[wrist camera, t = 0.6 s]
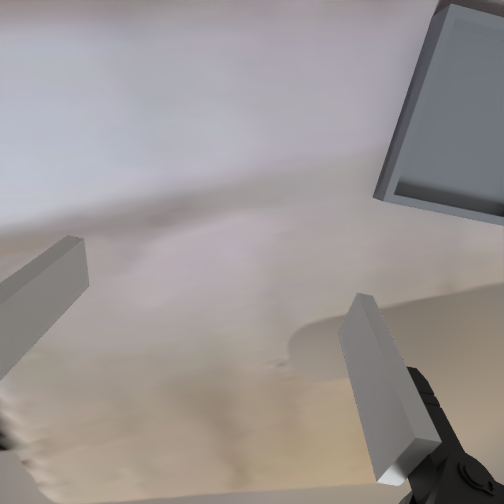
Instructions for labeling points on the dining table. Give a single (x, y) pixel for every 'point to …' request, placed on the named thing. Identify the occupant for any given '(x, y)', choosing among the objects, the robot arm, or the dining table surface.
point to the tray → (452, 122)
